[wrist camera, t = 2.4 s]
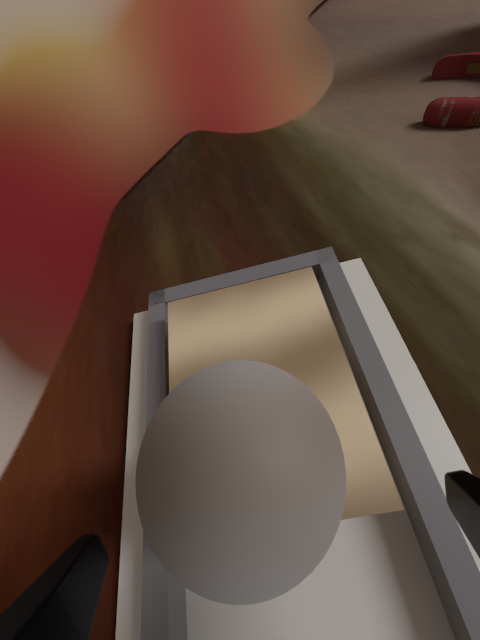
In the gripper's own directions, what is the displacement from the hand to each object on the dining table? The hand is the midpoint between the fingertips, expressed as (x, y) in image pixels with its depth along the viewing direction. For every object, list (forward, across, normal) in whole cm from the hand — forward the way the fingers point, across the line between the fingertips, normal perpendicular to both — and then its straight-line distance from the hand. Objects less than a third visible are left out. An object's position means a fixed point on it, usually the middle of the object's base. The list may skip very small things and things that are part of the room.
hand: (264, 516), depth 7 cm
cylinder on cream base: (+9, 0, +2) cm, 10 cm away
